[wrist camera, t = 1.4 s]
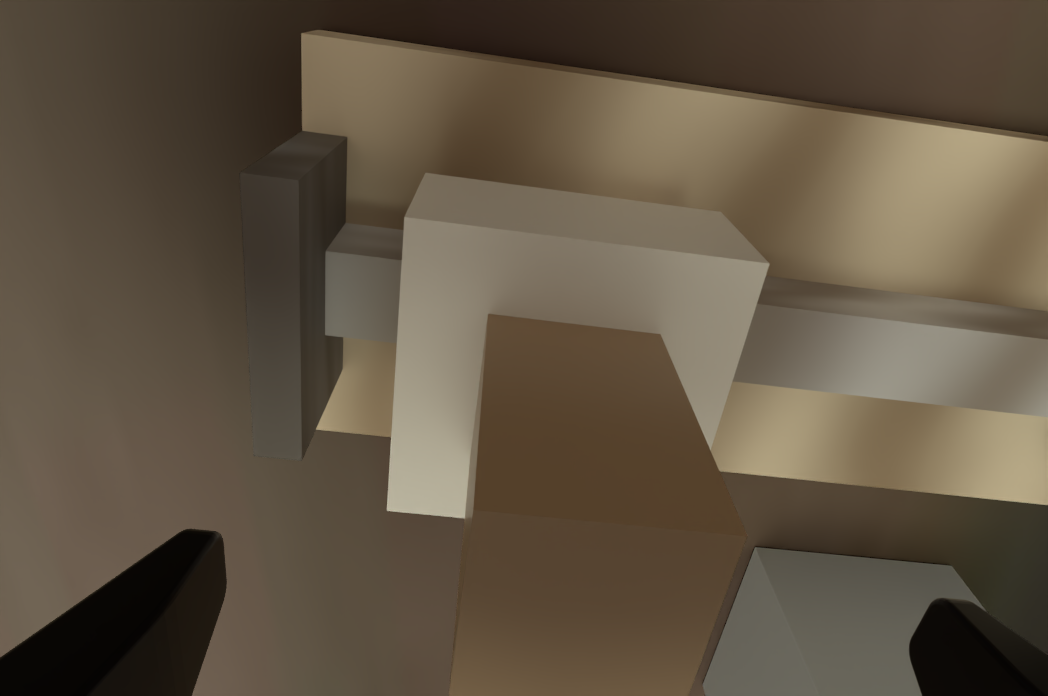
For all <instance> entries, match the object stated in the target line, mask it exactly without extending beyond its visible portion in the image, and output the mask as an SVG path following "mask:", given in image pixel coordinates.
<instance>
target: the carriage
mask: <svg viewBox="0 0 1048 696" xmlns="http://www.w3.org/2000/svg"><path fill="white" fill-rule="evenodd" d="M769 264H770V263H769V262H768V261H767V260H766V259H765V258H764V257H763V256H762V255H761V254H760V253H759V252H758V251H757V250H756V249H755V248H754V246H753V245H752V244H751V243H750V242H749V241H748V240H747V239H746V238H745V237H744V236H743V235H742V234H741V233H740V232H739V231H738V229H737V228H736V227H735V226H734V225H733V224H732V223H731V222H730V221H729V220H728V219H727V218H726V217H725V216H724V215H723V214H722V212H718V211H711V210H703V209H695V208H688V207H680V206H673V205H665V204H658V203H650V202H643V201H635V200H627V199H620V198H612V197H605V196H597V195H590V194H582V193H575V192H567V191H560V190H552V189H545V188H537V187H529V186H522V185H514V184H507V183H499V182H492V181H484V180H477V179H469V178H461V177H454V176H446V175H439V174H431V173H425V175H424V177H423V179H422V181H421V183H420V185H419V187H418V189H417V191H416V194H415V196H414V198H413V200H412V202H411V204H410V206H409V208H408V210H407V212H406V215H405V217H404V231H403V247H402V264H401V281H400V298H399V315H398V332H397V348H396V365H395V382H394V399H393V416H392V432H391V449H390V466H389V483H388V500H387V511H394V512H404V513H415V514H425V515H436V516H446V517H457V518H465V520H464V531H463V542H462V553H461V564H460V575H459V587H458V598H457V609H456V620H455V631H454V642H453V653H452V664H451V675H450V686H449V696H689V693H690V690H691V687H692V685H693V682H694V679H695V677H696V674H697V671H698V669H699V666H700V663H701V660H702V658H703V655H704V652H705V650H706V647H707V644H708V642H709V639H710V636H711V634H712V631H713V628H714V625H715V623H716V620H717V617H718V615H719V612H720V609H721V607H722V604H723V601H724V598H725V596H726V593H727V590H728V588H729V585H730V582H731V580H732V577H733V574H734V572H735V569H736V566H737V563H738V561H739V558H740V555H741V553H742V550H743V547H744V545H745V542H746V539H747V534H746V532H745V529H744V527H743V525H742V522H741V520H740V518H739V516H738V513H737V511H736V509H735V506H734V504H733V502H732V499H731V497H730V495H729V492H728V490H727V488H726V485H725V483H724V481H723V478H722V476H721V474H720V471H719V469H718V467H717V464H716V462H715V460H714V457H713V455H712V453H711V448H712V444H713V441H714V438H715V435H716V432H717V429H718V425H719V422H720V419H721V416H722V413H723V410H724V406H725V403H726V400H727V397H728V394H729V391H730V387H731V384H732V381H733V378H734V375H735V372H736V368H737V365H738V362H739V359H740V356H741V353H742V349H743V346H744V343H745V340H746V337H747V334H748V330H749V327H750V324H751V321H752V318H753V315H754V312H755V308H756V305H757V302H758V299H759V296H760V293H761V289H762V286H763V283H764V280H765V277H766V274H767V270H768V267H769Z"/></svg>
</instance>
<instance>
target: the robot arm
mask: <svg viewBox="0 0 1048 696" xmlns="http://www.w3.org/2000/svg"><path fill="white" fill-rule="evenodd" d="M226 584H227V579H226V567H225V555H224V543H223V538H222V536H221V534H220V533H218V532H216V531H209V530H197V529H186V530H183V531H181V532H179V533H178V534H176V535H175V536H174V537H172V538H171V539H169V540H168V541H166V542H165V543H164V544H162V545H161V546H159V547H158V548H156V549H155V550H154V551H152V552H151V553H149V554H148V555H146V556H145V557H143V558H142V559H141V560H139V561H138V562H136V563H135V564H133V565H132V566H131V567H129V568H128V569H126V570H125V571H123V572H122V573H121V574H119V575H118V576H116V577H115V578H113V579H112V580H111V581H109V582H108V583H106V584H105V585H103V586H102V587H101V588H99V589H98V590H96V591H95V592H93V593H92V594H90V595H89V596H88V597H86V598H85V599H83V600H82V601H80V602H79V603H78V604H76V605H75V606H73V607H72V608H70V609H69V610H68V611H66V612H65V613H63V614H62V615H60V616H59V617H58V618H56V619H55V620H53V621H52V622H50V623H49V624H48V625H46V626H45V627H43V628H42V629H40V630H39V631H38V632H36V633H35V634H33V635H32V636H30V637H29V638H27V639H26V640H25V641H23V642H22V643H20V644H19V645H17V646H16V647H15V648H13V649H12V650H10V651H9V652H7V653H6V654H5V655H3V656H2V657H0V696H192V693H193V690H194V687H195V684H196V681H197V678H198V675H199V673H200V670H201V667H202V664H203V661H204V658H205V655H206V652H207V649H208V646H209V643H210V640H211V637H212V634H213V631H214V628H215V625H216V622H217V619H218V616H219V613H220V610H221V607H222V604H223V601H224V597H225V593H226ZM909 657H910V661H911V664H912V667H913V670H914V673H915V676H916V679H917V682H918V685H919V688H920V691H921V694H922V696H1048V655H1046V654H1045V653H1044V652H1042V651H1041V650H1039V649H1038V648H1037V647H1035V646H1034V645H1032V644H1031V643H1030V642H1028V641H1027V640H1025V639H1024V638H1023V637H1021V636H1020V635H1018V634H1017V633H1016V632H1014V631H1013V630H1011V629H1010V628H1008V627H1007V626H1006V625H1004V624H1003V623H1001V622H1000V621H999V620H997V619H996V618H994V617H993V616H992V615H990V614H989V613H987V612H986V611H985V610H983V609H982V608H980V607H979V606H978V605H976V604H975V603H973V602H971V601H968V600H964V599H953V598H937V599H935V600H934V601H932V602H931V603H930V605H929V606H928V608H927V610H926V612H925V614H924V615H923V617H922V619H921V621H920V623H919V624H918V626H917V628H916V630H915V632H914V633H913V635H912V637H911V639H910V643H909Z"/></svg>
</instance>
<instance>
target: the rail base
mask: <svg viewBox="0 0 1048 696" xmlns="http://www.w3.org/2000/svg"><path fill="white" fill-rule="evenodd" d="M301 61H302V131H301V132H299V133H298V134H296V135H295V136H293V137H292V138H291V139H289V140H288V141H286V142H285V143H283V144H282V145H280V146H279V147H277V148H276V149H274V150H273V151H271V152H270V153H268V154H267V155H265V156H264V157H262V158H261V159H259V160H258V161H256V162H255V163H253V164H252V165H250V166H249V167H247V168H246V169H244V170H243V171H241V172H240V173H239V174H240V194H241V214H242V234H243V254H244V274H245V294H246V314H247V333H248V353H249V373H250V393H251V413H252V433H253V453H254V456H258V457H268V458H278V459H288V460H298V461H302V459H303V457H304V455H305V453H306V450H307V448H308V446H309V444H310V441H311V439H312V437H313V435H314V432H315V430H316V429H317V430H327V431H337V432H346V433H356V434H366V435H375V436H385V437H391V432H392V416H393V399H394V382H395V365H396V348H397V332H398V315H399V298H400V281H401V264H402V247H403V231H404V217H405V215H406V212H407V210H408V208H409V206H410V204H411V202H412V200H413V198H414V196H415V194H416V191H417V189H418V187H419V185H420V183H421V181H422V179H423V177H424V175H425V173H431V174H439V175H446V176H454V177H461V178H469V179H477V180H484V181H492V182H499V183H507V184H514V185H522V186H529V187H537V188H545V189H552V190H560V191H567V192H575V193H582V194H590V195H597V196H605V197H612V198H620V199H627V200H635V201H643V202H650V203H658V204H665V205H673V206H680V207H688V208H695V209H703V210H711V211H718V212H722V214H723V215H724V216H725V217H726V218H727V219H728V220H729V221H730V222H731V223H732V224H733V225H734V226H735V227H736V228H737V229H738V231H739V232H740V233H741V234H742V235H743V236H744V237H745V238H746V239H747V240H748V241H749V242H750V243H751V244H752V245H753V246H754V248H755V249H756V250H757V251H758V252H759V253H760V254H761V255H762V256H763V257H764V258H765V259H766V260H767V261H768V262H769V263H770V264H769V267H768V270H767V274H766V277H765V280H764V283H763V286H762V289H761V293H760V296H759V299H758V302H757V305H756V308H755V312H754V315H753V318H752V321H751V324H750V327H749V330H748V334H747V337H746V340H745V343H744V346H743V349H742V353H741V356H740V359H739V362H738V365H737V368H736V372H735V375H734V378H733V381H732V384H731V387H730V391H729V394H728V397H727V400H726V403H725V406H724V410H723V413H722V416H721V419H720V422H719V425H718V429H717V432H716V435H715V438H714V441H713V444H712V448H711V453H712V455H713V457H714V460H715V462H716V464H717V467H718V469H719V471H723V472H733V473H743V474H752V475H762V476H772V477H781V478H791V479H801V480H810V481H820V482H830V483H839V484H849V485H859V486H868V487H878V488H888V489H897V490H907V491H917V492H926V493H936V494H946V495H955V496H965V497H975V498H984V499H994V500H1004V501H1013V502H1023V503H1033V504H1042V505H1048V136H1042V135H1035V134H1029V133H1022V132H1015V131H1008V130H1001V129H995V128H988V127H981V126H974V125H967V124H960V123H954V122H947V121H940V120H933V119H926V118H919V117H913V116H906V115H899V114H892V113H885V112H878V111H872V110H865V109H858V108H851V107H844V106H837V105H831V104H824V103H817V102H810V101H803V100H796V99H790V98H783V97H776V96H769V95H762V94H755V93H749V92H742V91H735V90H728V89H721V88H714V87H708V86H701V85H694V84H687V83H680V82H673V81H667V80H660V79H653V78H646V77H639V76H632V75H626V74H619V73H612V72H605V71H598V70H591V69H585V68H578V67H571V66H564V65H557V64H550V63H544V62H537V61H530V60H523V59H516V58H509V57H503V56H496V55H489V54H482V53H475V52H468V51H462V50H455V49H448V48H441V47H434V46H427V45H421V44H414V43H407V42H400V41H393V40H386V39H380V38H373V37H366V36H359V35H352V34H345V33H339V32H332V31H325V30H315V31H310V32H305V33H301Z"/></svg>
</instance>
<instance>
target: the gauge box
mask: <svg viewBox="0 0 1048 696" xmlns="http://www.w3.org/2000/svg"><path fill="white" fill-rule="evenodd" d="M937 598H953V599H964V600H968V601H971V602H973V603H975V604H976V605H978V606H979V607H980V608H982V609H983V610H985V609H984V608H983V606H982V605H981V604H980V602H979V601H978V600H977V598H976V597H975V596H974V594H973V593H972V592H971V591H970V589H969V588H968V587H967V585H966V584H965V583H964V581H963V580H962V579H961V577H960V576H959V575H958V573H957V572H956V571H955V570H954V568H953V567H952V566H949V565H938V564H928V563H917V562H907V561H896V560H886V559H875V558H865V557H854V556H844V555H833V554H823V553H812V552H802V551H791V550H781V549H770V548H760V547H755V548H754V551H753V554H752V556H751V559H750V562H749V564H748V567H747V569H746V572H745V575H744V577H743V580H742V583H741V585H740V588H739V590H738V593H737V596H736V598H735V601H734V604H733V606H732V609H731V611H730V614H729V617H728V619H727V622H726V625H725V627H724V630H723V632H722V635H721V638H720V640H719V643H718V646H717V648H716V651H715V653H714V656H713V659H712V661H711V664H710V667H709V669H708V672H707V674H706V677H705V680H704V682H703V688H704V692H705V696H922V694H921V691H920V688H919V685H918V682H917V679H916V676H915V673H914V670H913V667H912V664H911V661H910V657H909V643H910V639H911V637H912V635H913V633H914V632H915V630H916V628H917V626H918V624H919V623H920V621H921V619H922V617H923V615H924V614H925V612H926V610H927V608H928V606H929V605H930V603H931V602H932V601H934V600H935V599H937ZM985 611H986V610H985ZM986 612H987V611H986Z"/></svg>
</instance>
